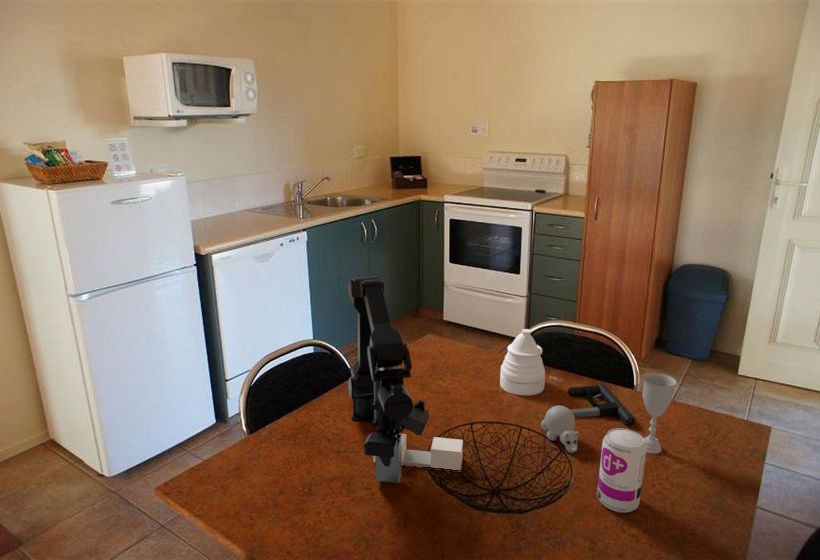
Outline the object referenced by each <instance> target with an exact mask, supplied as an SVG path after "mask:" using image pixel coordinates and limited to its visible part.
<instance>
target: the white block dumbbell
mask: <svg viewBox="0 0 820 560" xmlns="http://www.w3.org/2000/svg"><path fill="white" fill-rule="evenodd" d="M400 434H401V466H403V465H405V466H404V467H413V466H416V467H415V468H422V467H433V468H444V469H452V470H461V471H462V463H463V451H464V450H463V448H464V445H463V444H464V440H463V439H456V438H447V437H437V436H436V437H435V436H434V437H433V439H432V443H431V446H430V451H425V450H416V449H415V450H414V449H408V448H407V434H406V433H400ZM372 457H373V463H375V464H376V456H372Z"/></svg>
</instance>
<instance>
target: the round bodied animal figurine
mask: <svg viewBox="0 0 820 560" xmlns="http://www.w3.org/2000/svg"><path fill="white" fill-rule="evenodd" d="M570 410H571V409H569V408H568V407H566V406H563V405H555V406H552V407H550V408H549V409H547V412H546V413H545V415H544V419H542V421H541V423H540V427H541V428H542V430H544V431H547V433H546V438H547V440H549V441H552V442H554V441H556V440H557V439H558V438H559V441H560V442H561V443H562V444H563V445H564V448H565V450H566V451H567V453H570V454H573V453H575V452H576V451H578V438H579V437H578V435H579V434H580V432H579V431H576V430H574V429H575V425H576V417H574V415H573V413H572V412H571V411H570Z"/></svg>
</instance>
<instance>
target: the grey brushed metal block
mask: <svg viewBox="0 0 820 560" xmlns="http://www.w3.org/2000/svg"><path fill="white" fill-rule="evenodd" d="M389 434H390V433H389ZM401 434H402V433H399V434H397V436H396V438H397V440H400V442H399V445H398V447H397V450H396V453H395V455H394V457H391V461H390V466H389V467H388V466H384V464H383V463H382V461H381V459H380V458H379V456H376V463H375V480H376V482H378V481H379V482H386V483H395V484H400V481H401V478H402V465H401Z"/></svg>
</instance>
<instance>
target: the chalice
mask: <svg viewBox="0 0 820 560" xmlns="http://www.w3.org/2000/svg"><path fill="white" fill-rule="evenodd" d="M642 380H643V389H642V395H641V396H642V399H643V403H644V406H645V409H646V410H647V413H648V414H649V415H650V416H651V420H650V421H649V424H650V427H649V428H648V431H649V435H646V436H645V437H643V439H644V443H645V445H646V448H647V450H646V453H647V454H655V455H656V454H660V453H662V447H661V444H660V441H659V439H658V438H656V436H655V433H656V432H657V431H658V430H657V429H656V426H657V424H658V422H657V417H661V416H662V415H664V413H665V412H666V410H667V409H668V407H669V406H670V404H671V402H672V400H673V399H672V398H673V393H674V392H673V391H674V387H675V385H676V384H677V383H678V382H677V380H676V379H675V378H674V377H672V376H670V375H667V374H664V373H658V372H647V373H645V374H644V373H643V375H642Z"/></svg>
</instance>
